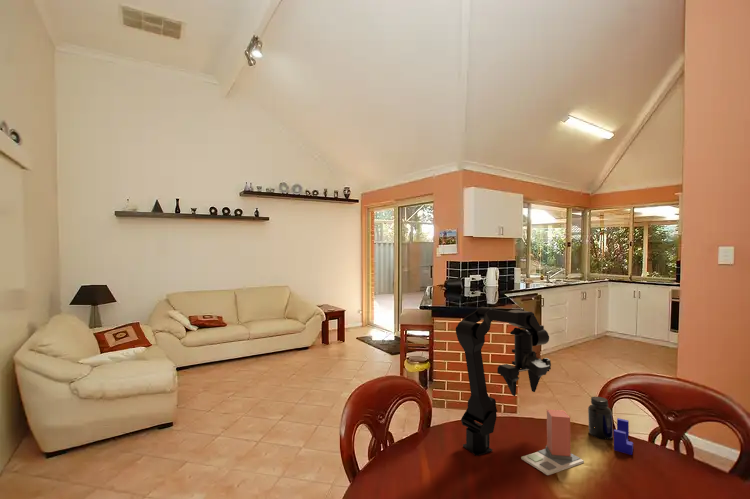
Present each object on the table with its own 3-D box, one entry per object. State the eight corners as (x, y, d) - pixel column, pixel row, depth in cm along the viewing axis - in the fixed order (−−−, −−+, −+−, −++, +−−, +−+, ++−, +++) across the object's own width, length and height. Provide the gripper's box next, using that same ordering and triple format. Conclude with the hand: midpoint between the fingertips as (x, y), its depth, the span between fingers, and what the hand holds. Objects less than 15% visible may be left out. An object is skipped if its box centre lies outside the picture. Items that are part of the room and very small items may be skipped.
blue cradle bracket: (632, 455, 108) (631, 435, 108) (614, 450, 111) (613, 430, 111) (634, 440, 117) (634, 421, 117) (617, 436, 120) (617, 418, 120)
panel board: (547, 475, 97) (547, 472, 97) (521, 458, 105) (521, 455, 105) (583, 462, 103) (583, 459, 103) (556, 447, 112) (556, 445, 112)
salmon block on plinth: (551, 458, 104) (550, 416, 104) (545, 448, 110) (545, 408, 110) (572, 460, 103) (571, 418, 103) (565, 450, 109) (565, 410, 109)
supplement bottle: (605, 430, 123) (605, 395, 124) (617, 440, 116) (616, 403, 117) (584, 429, 124) (584, 394, 124) (594, 439, 117) (594, 402, 118)
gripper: (522, 356, 111) (522, 407, 111) (563, 350, 119) (563, 397, 119) (496, 348, 121) (496, 394, 121) (535, 343, 129) (535, 386, 129)
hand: (523, 393), depth 122 cm, fingers open, 9 cm apart
